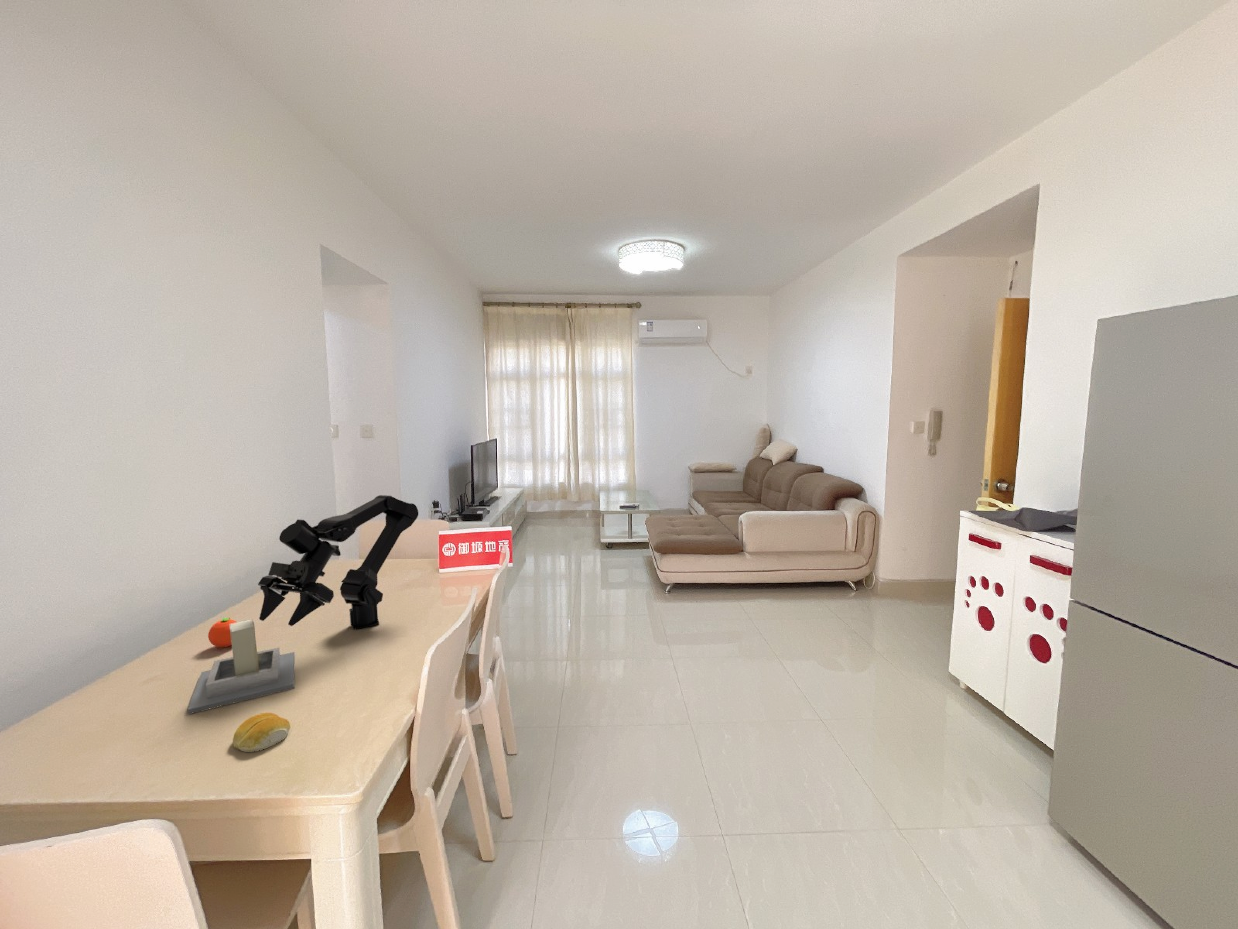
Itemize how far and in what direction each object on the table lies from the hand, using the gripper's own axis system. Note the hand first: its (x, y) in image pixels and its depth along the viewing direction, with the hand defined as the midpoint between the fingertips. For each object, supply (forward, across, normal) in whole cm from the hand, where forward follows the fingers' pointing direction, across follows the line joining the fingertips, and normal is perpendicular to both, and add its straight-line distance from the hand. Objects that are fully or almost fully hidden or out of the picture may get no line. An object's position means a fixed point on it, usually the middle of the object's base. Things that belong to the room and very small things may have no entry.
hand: (275, 622), depth 122 cm
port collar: (+13, 0, +2) cm, 13 cm away
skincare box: (+12, 0, +1) cm, 12 cm away
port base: (+13, 0, +2) cm, 13 cm away
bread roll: (+22, +23, -8) cm, 33 cm away
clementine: (+5, -24, +11) cm, 27 cm away
